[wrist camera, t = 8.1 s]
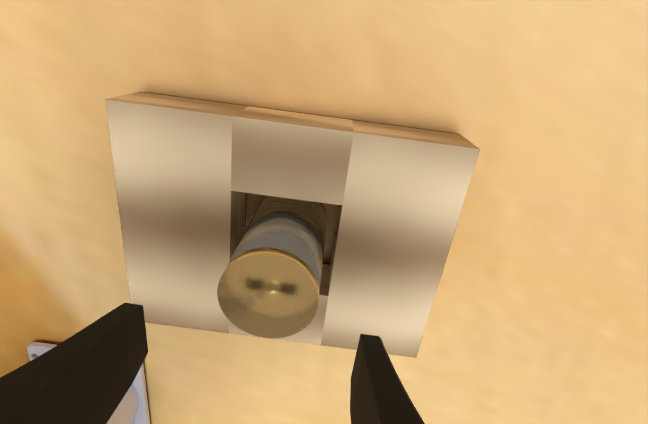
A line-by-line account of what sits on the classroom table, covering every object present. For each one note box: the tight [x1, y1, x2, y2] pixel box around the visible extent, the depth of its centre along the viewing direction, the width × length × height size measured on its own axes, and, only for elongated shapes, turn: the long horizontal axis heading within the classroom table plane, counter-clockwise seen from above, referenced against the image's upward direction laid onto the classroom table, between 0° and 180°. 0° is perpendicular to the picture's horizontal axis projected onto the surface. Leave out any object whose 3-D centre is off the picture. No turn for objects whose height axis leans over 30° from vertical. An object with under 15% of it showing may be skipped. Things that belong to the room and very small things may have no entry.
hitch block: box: [105, 92, 480, 358], centre depth 19 cm, size 12×16×3 cm
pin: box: [217, 196, 326, 338], centre depth 17 cm, size 4×4×7 cm
